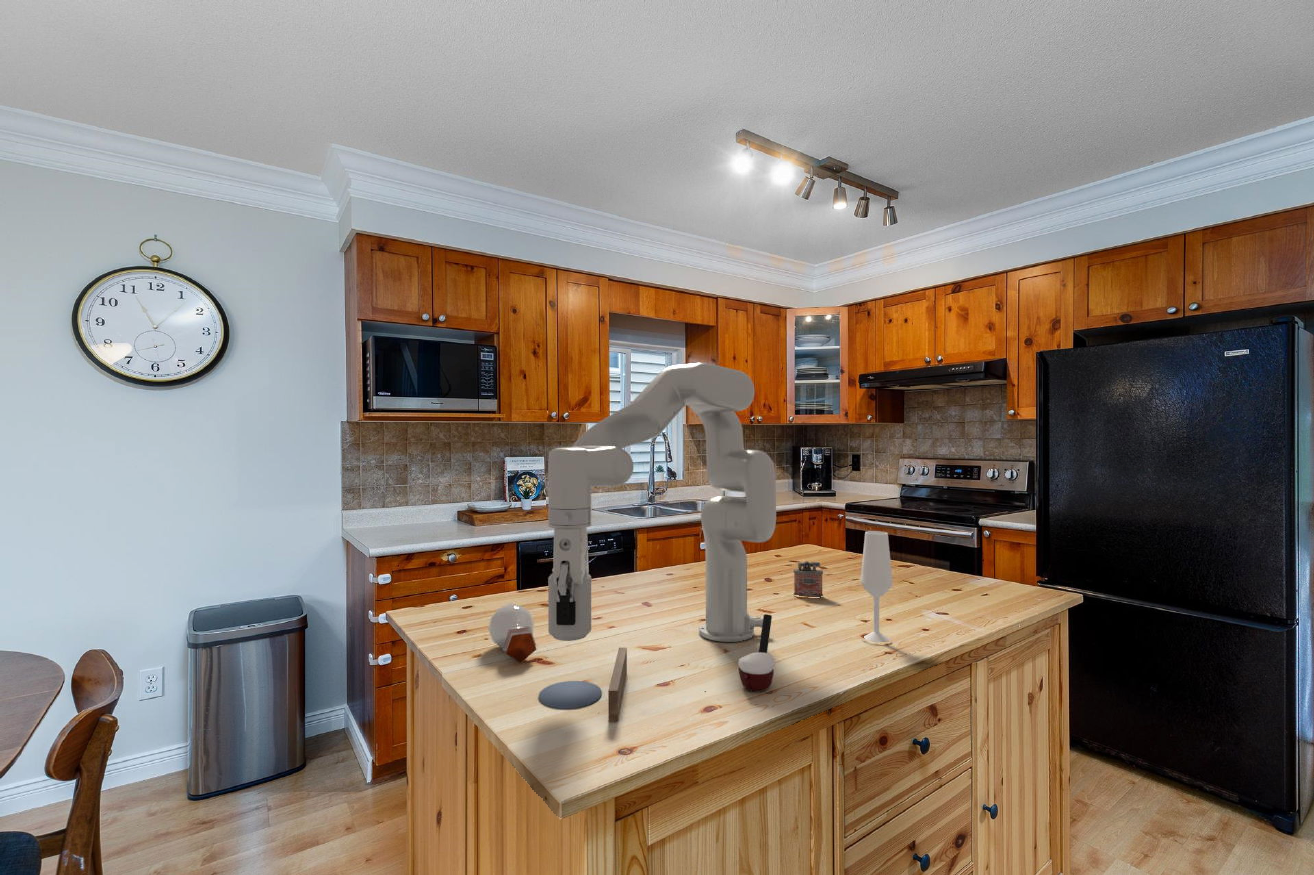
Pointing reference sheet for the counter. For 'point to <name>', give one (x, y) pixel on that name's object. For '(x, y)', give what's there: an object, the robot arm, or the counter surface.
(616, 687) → the low wall
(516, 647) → the potion bottle
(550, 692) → the mat
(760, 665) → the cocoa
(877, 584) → the champagne flute
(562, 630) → the can
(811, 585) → the lighter
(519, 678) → the counter surface
